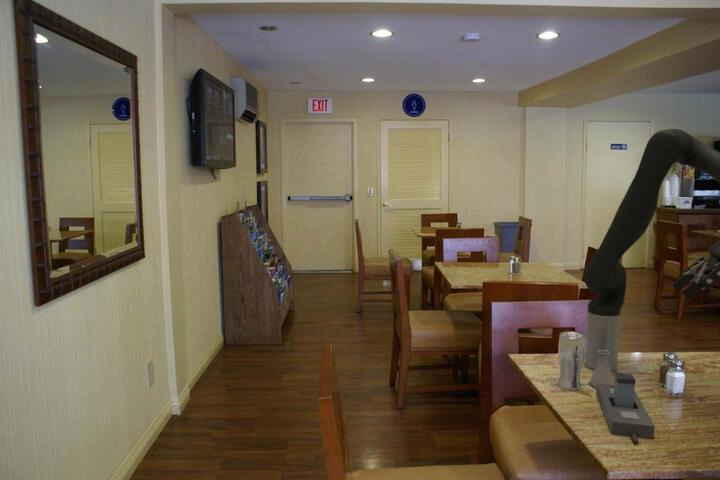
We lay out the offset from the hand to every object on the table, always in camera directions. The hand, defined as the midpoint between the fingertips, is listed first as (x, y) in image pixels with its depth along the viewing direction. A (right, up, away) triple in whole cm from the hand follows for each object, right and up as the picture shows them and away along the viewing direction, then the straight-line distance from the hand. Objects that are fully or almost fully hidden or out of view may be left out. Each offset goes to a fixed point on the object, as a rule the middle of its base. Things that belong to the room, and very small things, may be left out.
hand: (679, 291), depth 143 cm
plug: (-14, -31, +1) cm, 34 cm away
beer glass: (-21, -29, +19) cm, 40 cm away
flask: (-11, -29, +19) cm, 36 cm away
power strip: (-15, -31, -1) cm, 34 cm away
